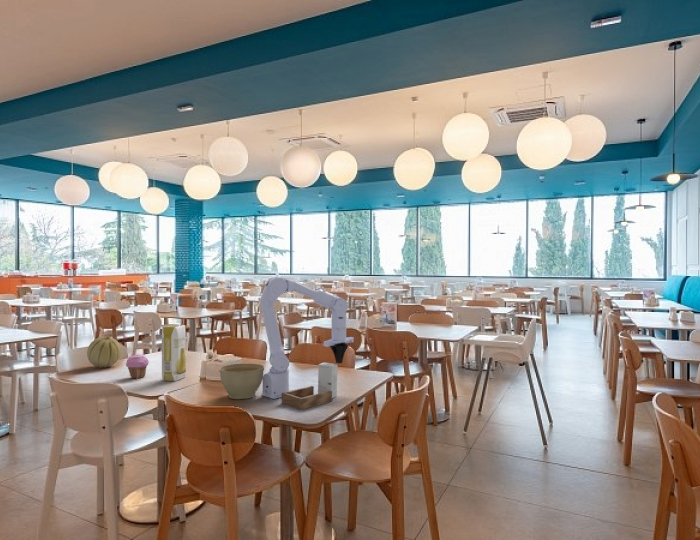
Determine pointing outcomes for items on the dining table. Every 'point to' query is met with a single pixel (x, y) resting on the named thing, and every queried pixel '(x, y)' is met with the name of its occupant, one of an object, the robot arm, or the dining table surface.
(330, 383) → the skincare box
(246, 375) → the planter bowl
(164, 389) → the dining table surface
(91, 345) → the cantaloupe
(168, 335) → the juice carton
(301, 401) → the walnut cradle
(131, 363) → the cupcake
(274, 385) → the robot arm
